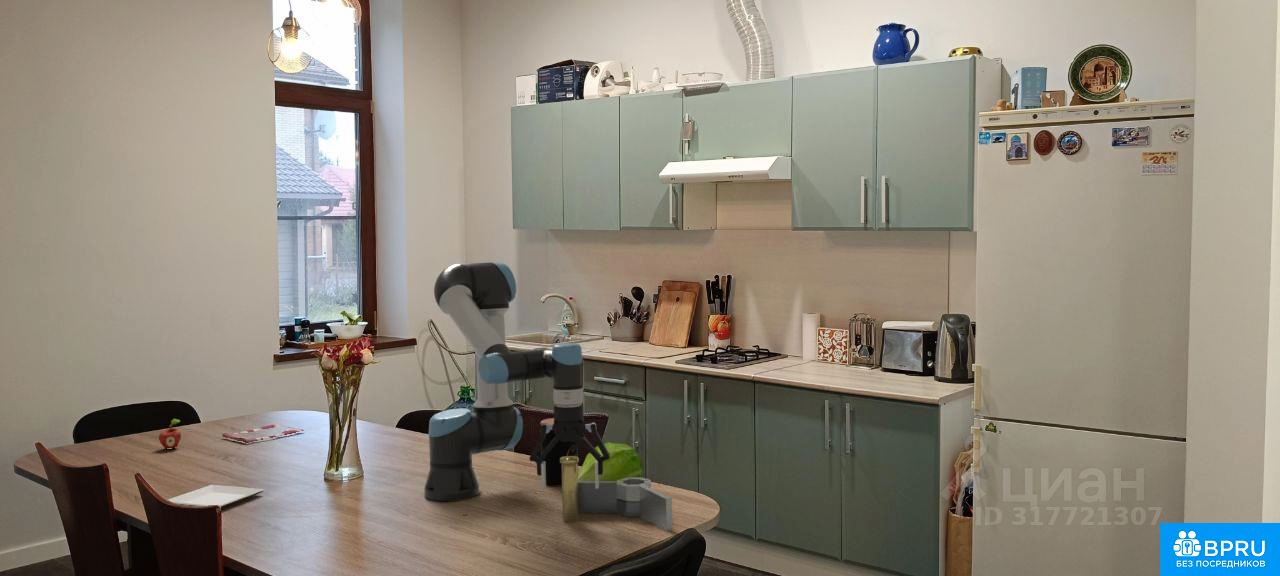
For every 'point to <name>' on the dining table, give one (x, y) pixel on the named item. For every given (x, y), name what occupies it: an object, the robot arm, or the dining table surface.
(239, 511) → the dining table surface
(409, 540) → the dining table surface
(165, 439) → the apple
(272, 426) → the dish towel
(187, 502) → the plate
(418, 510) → the dining table surface
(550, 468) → the coffee jar
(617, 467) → the lettuce
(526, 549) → the dining table surface
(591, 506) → the hinge
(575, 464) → the pin
